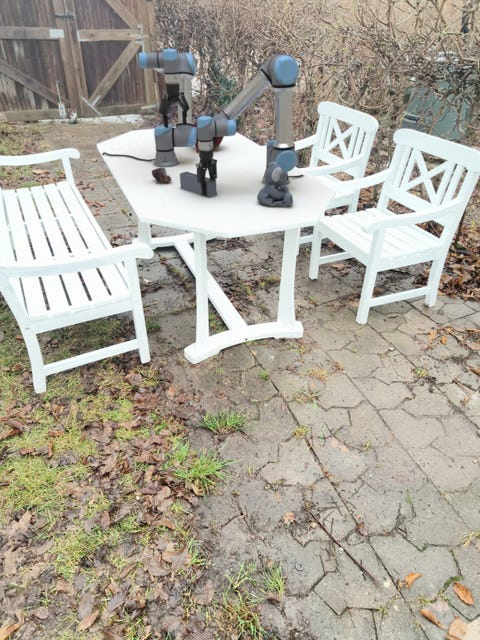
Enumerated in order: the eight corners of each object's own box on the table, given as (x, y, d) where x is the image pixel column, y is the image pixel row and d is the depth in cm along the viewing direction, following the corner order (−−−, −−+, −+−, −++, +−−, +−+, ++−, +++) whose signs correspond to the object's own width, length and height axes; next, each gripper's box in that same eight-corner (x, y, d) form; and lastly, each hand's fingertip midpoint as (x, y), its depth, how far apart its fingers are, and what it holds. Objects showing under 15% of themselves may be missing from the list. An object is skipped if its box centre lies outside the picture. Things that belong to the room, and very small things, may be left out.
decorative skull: (189, 124, 329) (187, 120, 305) (221, 116, 328) (220, 113, 305) (196, 154, 336) (194, 153, 312) (227, 147, 335) (227, 145, 311)
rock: (166, 180, 269) (150, 182, 265) (164, 165, 265) (148, 167, 261) (173, 182, 260) (156, 184, 256) (171, 166, 256) (154, 169, 252)
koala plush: (294, 207, 227) (296, 168, 215) (258, 208, 226) (259, 169, 214) (288, 196, 241) (290, 158, 230) (255, 197, 240) (255, 159, 229)
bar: (180, 188, 253) (179, 173, 249) (187, 186, 256) (186, 171, 252) (209, 197, 240) (209, 182, 235) (216, 195, 243) (216, 180, 239)
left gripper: (158, 86, 229) (162, 130, 241) (194, 81, 244) (196, 123, 256) (149, 84, 233) (153, 128, 245) (185, 80, 248) (187, 121, 260)
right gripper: (197, 154, 223) (200, 199, 236) (223, 147, 234) (224, 191, 247) (187, 151, 227) (190, 196, 240) (213, 144, 238) (215, 188, 251)
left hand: (175, 125), depth 251 cm, fingers open, 13 cm apart
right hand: (208, 193), depth 244 cm, fingers closed on bar, 5 cm apart
